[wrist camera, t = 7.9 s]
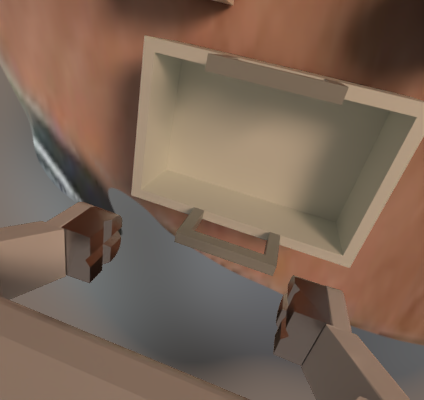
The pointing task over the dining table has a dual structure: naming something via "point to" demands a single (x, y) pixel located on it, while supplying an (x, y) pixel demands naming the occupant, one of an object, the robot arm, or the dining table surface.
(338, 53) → the dining table surface
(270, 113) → the tote
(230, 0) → the cream box
